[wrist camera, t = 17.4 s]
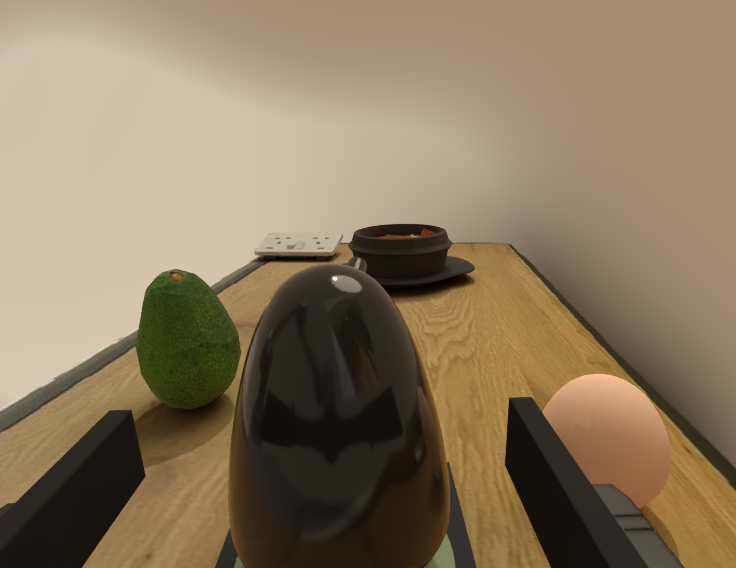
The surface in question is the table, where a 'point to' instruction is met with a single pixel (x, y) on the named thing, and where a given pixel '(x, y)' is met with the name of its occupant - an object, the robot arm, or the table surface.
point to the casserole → (407, 254)
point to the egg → (612, 434)
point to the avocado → (186, 341)
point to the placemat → (448, 564)
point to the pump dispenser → (336, 432)
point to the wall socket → (299, 245)
